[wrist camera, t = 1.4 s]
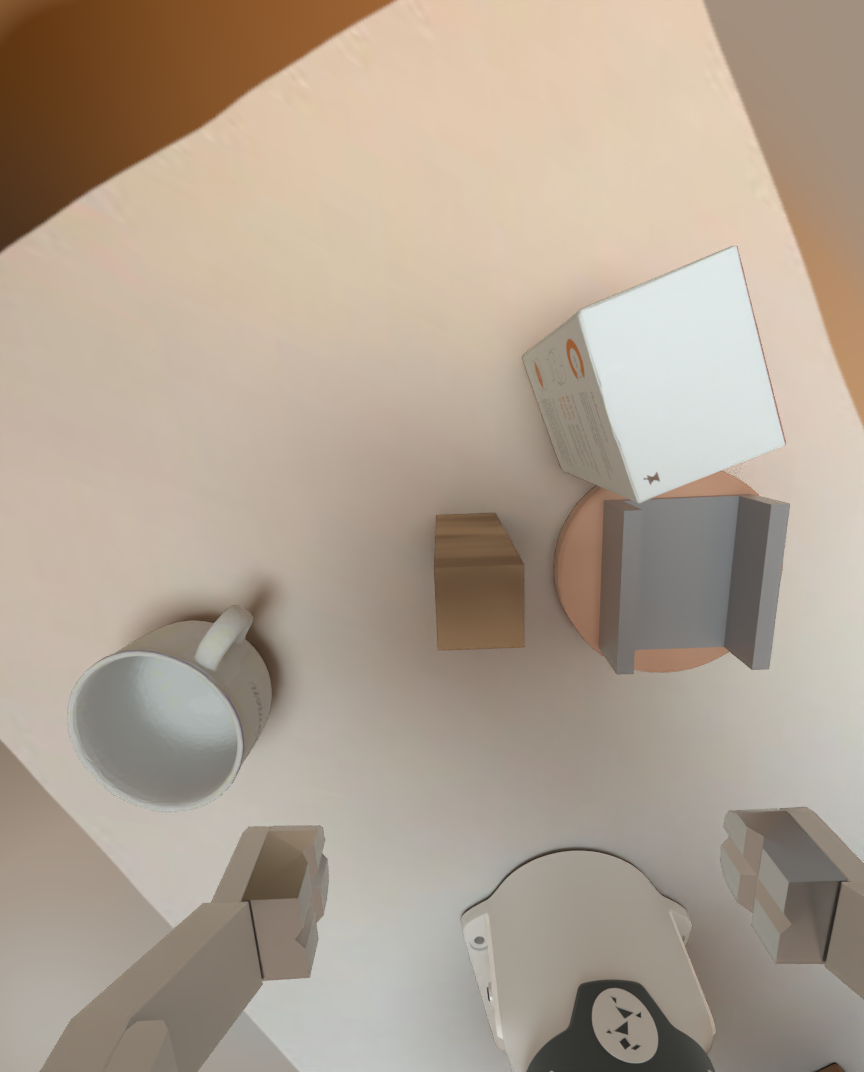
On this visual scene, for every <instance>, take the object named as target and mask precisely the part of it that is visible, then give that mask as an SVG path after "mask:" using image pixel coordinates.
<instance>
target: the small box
mask: <svg viewBox="0 0 864 1072" xmlns="http://www.w3.org/2000/svg"><path fill="white" fill-rule="evenodd" d="M522 358H523V361H524V364H525V367H526V370H527V373H528V376H529V379H530V382H531V385H532V388H533V391H534V394H535V397H536V399H537V402H538V405H539V408H540V411H541V414H542V416H543V419H544V422H545V425H546V428H547V430H548V433H549V436H550V439H551V442H552V444H553V447H554V450H555V453H556V455H557V458H558V461H559V463H560V466H561V469H562V471H564V472H567V473H569V474H571V475H574V476H576V477H578V478H581V479H583V480H585V481H588V482H590V483H592V484H595V485H597V486H599V487H602V488H604V489H606V490H609V491H611V492H613V493H615V494H618V495H620V496H622V497H625V498H627V499H630V500H632V501H634V502H636V503H642V502H644V501H647V500H649V499H651V498H654V497H656V496H659V495H661V494H663V493H666V492H668V491H671V490H673V489H676V488H678V487H681V486H683V485H685V484H688V483H690V482H693V481H696V480H698V479H701V478H703V477H706V476H709V475H711V474H714V473H716V472H719V471H721V470H724V469H726V468H729V467H731V466H734V465H736V464H739V463H742V462H744V461H747V460H749V459H752V458H755V457H757V456H760V455H762V454H765V453H767V452H770V451H772V450H775V449H778V448H780V447H783V446H785V445H786V441H785V437H784V433H783V429H782V425H781V421H780V417H779V413H778V409H777V405H776V401H775V397H774V393H773V389H772V385H771V381H770V377H769V373H768V369H767V365H766V361H765V357H764V353H763V348H762V344H761V340H760V336H759V332H758V328H757V324H756V320H755V316H754V313H753V308H752V304H751V300H750V296H749V293H748V288H747V284H746V280H745V276H744V271H743V267H742V263H741V259H740V255H739V251H738V246H731V247H728V248H726V249H724V250H721V251H719V252H717V253H714V254H712V255H709V256H707V257H705V258H702V259H700V260H697V261H695V262H693V263H690V264H688V265H685V266H683V267H681V268H678V269H676V270H673V271H671V272H669V273H666V274H664V275H661V276H659V277H657V278H654V279H652V280H649V281H647V282H644V283H642V284H640V285H637V286H635V287H632V288H630V289H628V290H625V291H623V292H620V293H618V294H616V295H613V296H611V297H608V298H606V299H603V300H601V301H599V302H596V303H594V304H592V305H589V306H587V307H585V308H582V309H580V310H579V311H578V312H577V313H576V314H575V315H573V316H572V317H571V318H570V319H569V320H567V321H566V322H565V323H564V324H562V325H561V326H560V327H558V328H557V329H556V330H554V331H553V332H552V333H551V334H549V335H548V336H547V337H545V338H544V339H543V340H541V341H540V342H539V343H537V344H536V345H535V346H533V347H532V348H531V349H530V350H528V351H527V352H526V353H525V354H524V355H523V356H522Z"/></svg>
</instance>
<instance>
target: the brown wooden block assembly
mask: <svg viewBox="0 0 864 1072" xmlns="http://www.w3.org/2000/svg"><path fill="white" fill-rule="evenodd" d="M818 1072H844V1071H843V1070H842V1069H841V1067H840V1066H839V1065H837V1064H832V1065H830V1066H828V1067H826V1068H824V1069H822V1070H820V1071H818Z"/></svg>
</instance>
